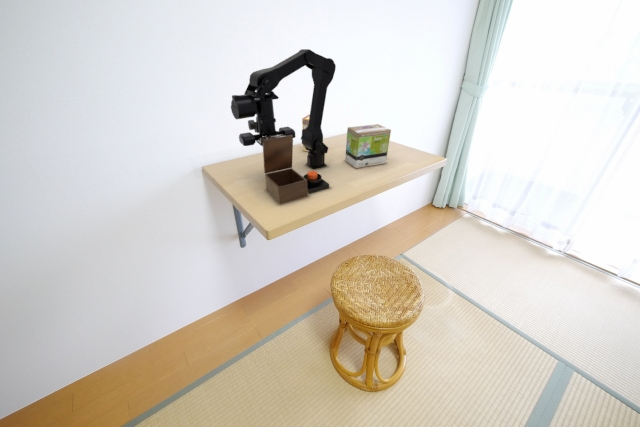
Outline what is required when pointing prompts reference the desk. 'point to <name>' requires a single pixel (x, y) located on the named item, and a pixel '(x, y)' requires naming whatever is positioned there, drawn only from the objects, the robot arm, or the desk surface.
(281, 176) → the open wooden box
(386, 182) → the desk surface
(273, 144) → the wooden box lid
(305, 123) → the candy box
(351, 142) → the tea box
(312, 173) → the button
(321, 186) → the control block
